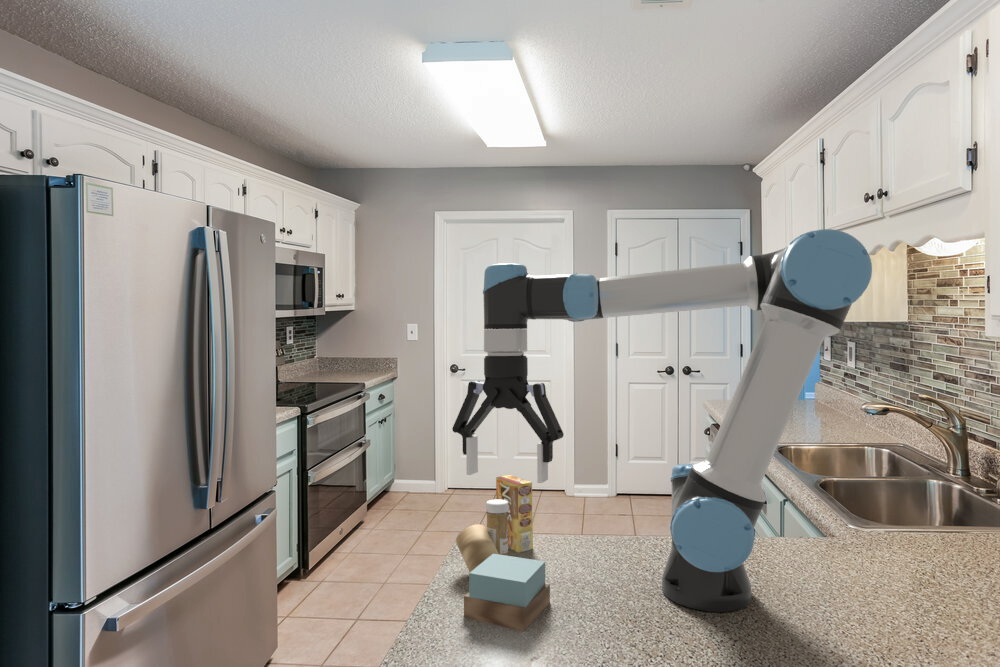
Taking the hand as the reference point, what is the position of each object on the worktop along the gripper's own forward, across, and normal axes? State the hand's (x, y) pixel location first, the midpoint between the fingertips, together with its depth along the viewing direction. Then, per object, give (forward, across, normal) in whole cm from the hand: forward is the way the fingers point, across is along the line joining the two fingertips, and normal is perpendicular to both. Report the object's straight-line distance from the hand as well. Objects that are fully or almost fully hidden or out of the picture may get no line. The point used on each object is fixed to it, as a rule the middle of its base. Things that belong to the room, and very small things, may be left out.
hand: (506, 477), depth 106 cm
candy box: (+23, +12, -28) cm, 38 cm away
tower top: (+19, 0, +1) cm, 19 cm away
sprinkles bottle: (+23, +10, -16) cm, 30 cm away
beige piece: (+16, +14, -12) cm, 24 cm away
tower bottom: (+23, 0, 0) cm, 23 cm away
